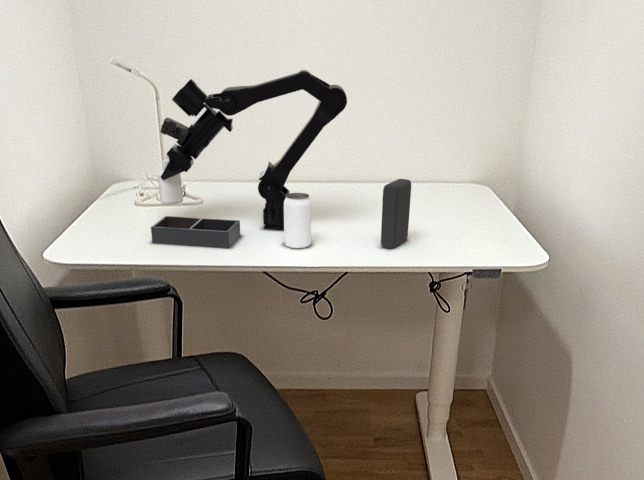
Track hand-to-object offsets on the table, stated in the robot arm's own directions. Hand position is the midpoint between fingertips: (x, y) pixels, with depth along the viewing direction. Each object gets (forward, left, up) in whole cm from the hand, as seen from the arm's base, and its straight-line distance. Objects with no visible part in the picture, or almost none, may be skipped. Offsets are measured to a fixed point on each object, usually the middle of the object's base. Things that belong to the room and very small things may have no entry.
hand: (163, 176), depth 187 cm
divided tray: (-11, +10, -13) cm, 19 cm away
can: (-36, +9, -13) cm, 39 cm away
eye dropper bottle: (-1, 0, -7) cm, 7 cm away
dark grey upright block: (-59, +3, -13) cm, 61 cm away
